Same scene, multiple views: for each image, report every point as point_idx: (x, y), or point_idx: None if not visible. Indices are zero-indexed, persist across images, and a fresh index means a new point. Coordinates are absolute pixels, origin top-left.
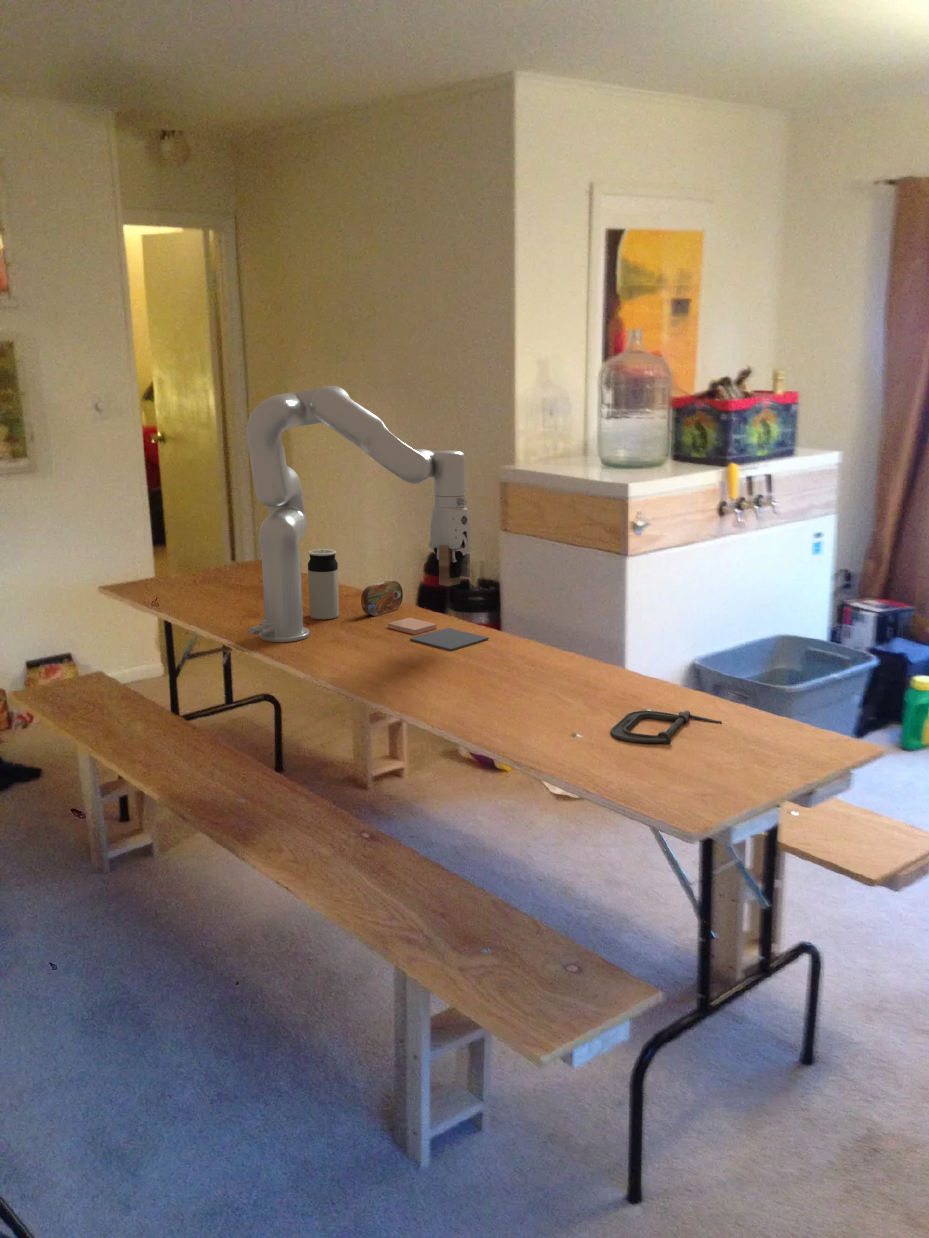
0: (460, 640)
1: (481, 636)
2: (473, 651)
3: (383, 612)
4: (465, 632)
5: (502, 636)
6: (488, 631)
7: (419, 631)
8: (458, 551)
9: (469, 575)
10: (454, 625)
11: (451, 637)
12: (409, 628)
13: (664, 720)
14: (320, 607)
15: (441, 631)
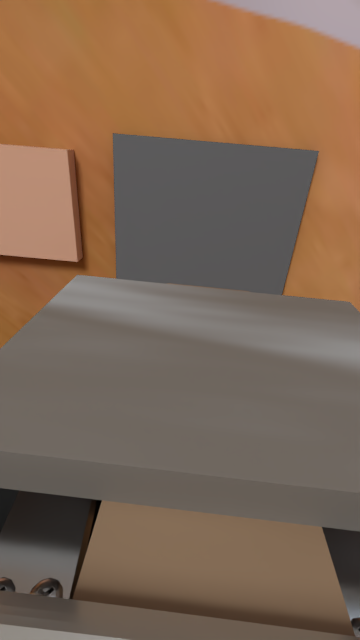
0: (249, 246)
1: (286, 156)
2: (330, 295)
3: None
4: (205, 147)
5: (346, 64)
6: (256, 31)
7: (78, 239)
8: (350, 610)
9: (353, 308)
10: (85, 51)
11: (204, 235)
12: (51, 257)
13: None
14: None
15: (130, 195)
